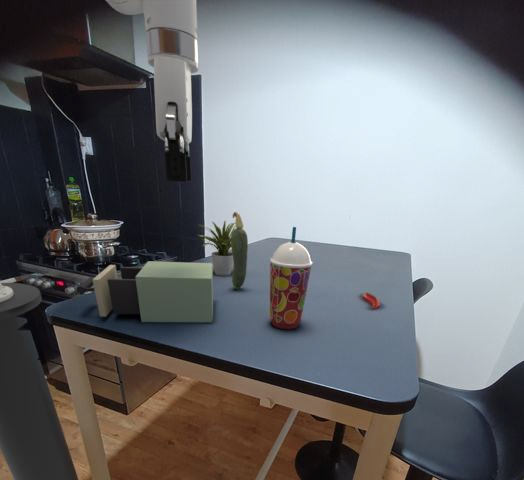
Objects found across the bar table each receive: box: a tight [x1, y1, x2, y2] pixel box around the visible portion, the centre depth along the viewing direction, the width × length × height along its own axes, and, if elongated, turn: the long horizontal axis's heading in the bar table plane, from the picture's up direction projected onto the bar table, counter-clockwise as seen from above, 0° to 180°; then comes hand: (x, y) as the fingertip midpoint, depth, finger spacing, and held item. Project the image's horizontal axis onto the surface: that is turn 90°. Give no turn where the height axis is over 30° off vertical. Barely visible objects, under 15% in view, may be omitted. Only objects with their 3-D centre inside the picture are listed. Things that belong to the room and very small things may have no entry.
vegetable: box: [230, 211, 249, 291], centre depth 83 cm, size 4×4×20 cm
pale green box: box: [135, 260, 214, 323], centre depth 70 cm, size 15×13×10 cm
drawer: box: [75, 264, 144, 318], centre depth 69 cm, size 18×11×8 cm, turn 97°
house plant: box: [197, 220, 236, 277], centre depth 99 cm, size 14×14×16 cm
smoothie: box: [269, 226, 313, 330], centre depth 64 cm, size 8×8×20 cm
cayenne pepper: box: [362, 292, 381, 310], centre depth 85 cm, size 12×5×2 cm, turn 163°
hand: (180, 180), depth 57 cm, fingers open, 9 cm apart
